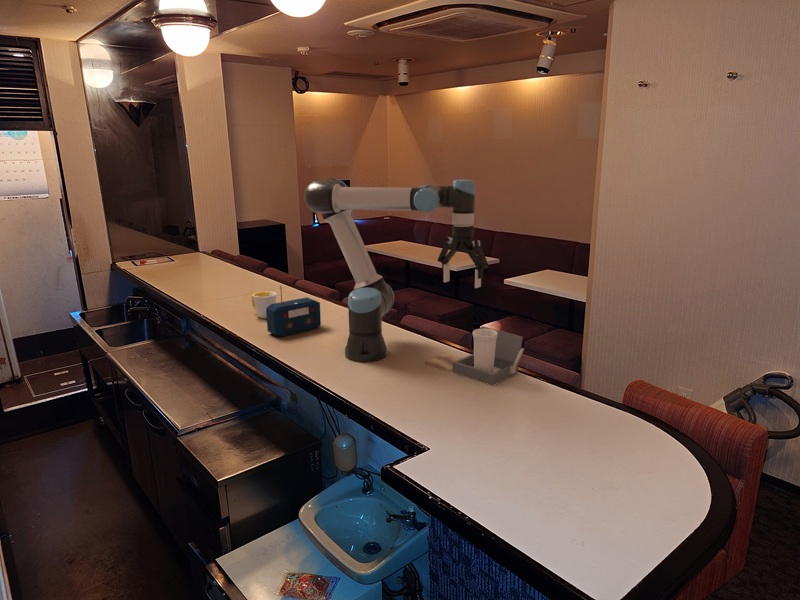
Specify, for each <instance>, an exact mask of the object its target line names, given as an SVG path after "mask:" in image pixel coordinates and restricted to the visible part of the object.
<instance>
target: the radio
mask: <svg viewBox="0 0 800 600" xmlns="http://www.w3.org/2000/svg"><path fill="white" fill-rule="evenodd" d="M279 287H280V299H281V300H280V301H281V302H276V303H274V304H271V305H269V306H268V307H267V308H266V315H267V318H266V326H267V332H269V333H270V334H272V335H275V336H276V337H279V338H283V337H287V336H291V335H296V334H300V333H304V331H305V332H308V330H309V331H313V330H317V329H318V328H319V327H320V326H321V325H322V322H321V321H322V320H321V303H320V302H319V301H318V300H315V299H312V298H309V297H302V298H296V299H291V300H285V301H283V294H282V293H283V292H282V284H280V285H279ZM316 328H317V329H316ZM312 329H313V330H312Z"/></svg>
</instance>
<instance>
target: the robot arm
mask: <svg viewBox="0 0 800 600" xmlns="http://www.w3.org/2000/svg"><path fill="white" fill-rule="evenodd" d="M475 185H476V182H475V181H474V180H472V179H454V180H453V183H452V184H451V185H431V184H428V185H420V186H419V187H386V186H385V187H383V186H382V187H381V186H380V187H378V186H377V187H374V186H373V187H371V186H370V187H369V186H368V187H367V186H365V187H364V186H361V187H360V186H348V185H347V184H346V183H345V182H344V181H341V180H340V179H336V178H325V179H320V180H319V179H318V180H315V181H312V182H311V183H309V184H308V185H307V187H306V188H305V190H304V196H303V198H304V202H305V205H306V207H307V208H308V209H309V210H310V211H311V212H313V213H315V214H320V216H321V217H322V220H323V221H324V222H325V223H328V224H329V226H330V227H331V230H332V232H333V235H334V237H335V239H336V241H337V244H338V246H339V248H340V250H341V252H342V254H343V256H344V259H345V261H346V263H347V265H348V268H349V270H350V273H351V274H352V277H353V280H354V282H355V285H354V287H353V290H352V291H351V292H350V293H349V295H348V298H347V299H348V300H347V306H348V310H347V311H348V333H349V334H348V337H347V340H346V341H347V342H346V346H345V348H344V355H345V358H346V359H348V360H351V361H355V362H362V363H363V362H364V363H365V362H367V363H368V362H375V361H379V360H382V359H384V358H385V357H386V356H387V355H388V348H387V345H386V342H385V339H384V335H383V333H382V332H383V329H382V328H383V327H382V325H383V324H382V319H383V318H382V317H384V316H385V314H387V313H388V312H389V311H390V310H391V309H392V307H393V305H394V302H395V293H394V290H393V289H392V287H391V286H390V285H389V284H387V283H386V281H385V279H384V277H383V276H382V275H381V274H378V273H377V271H376V268H375V266H374V264H373V262H372V260H371V257H370V255H369V253H368V250H367V248H366V246H365V244H364V241H363V239H362V237H361V234H360V232H359V230H358V228H357V226H356V223H355V220H354V219H353V216H352V212H353V211H401V212H402V211H405V212H406V211H410V212H411V211H413V212H422V213H431V212H433V211H435V210H436V209H438V208H442V209H443V208H447V209H451V208H452V217H451V218H452V219H451V220H452V221H451V223H452V230H451V232H452V233H451V235H452V236H448V237H445V238H444V244H443V247H442V248H441V251H440V253H439V255H438V258H437V262H438V263H441V272H442V273H443V283H447V282H450V276H451V274H450V272H451V271H450V268H451V266H450V265H451V263H449V262H450V260H451V259H452V258H453V256H454V255H455V254H456V253H457V252H462V253H466V254H467V255H468V256H469V258H470V259H471V260H472V263H473V264H474V266H475V267H476V268H475V270H474V271H475V272H474V289H478V288H481V287H482V279H483V277H484V270H485V269H487V268H489V263H488V260H487V258H486V254H485V252H484V249H483V248H482V247H483V246H482V240H481V239H480V240H479V239H478V240H474V236H475V226H474V224H475V208H476V207H475V202H476V201H475V200H476V186H475ZM452 244H453V246H452V247H451V245H452ZM450 247H451V248H450Z"/></svg>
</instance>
